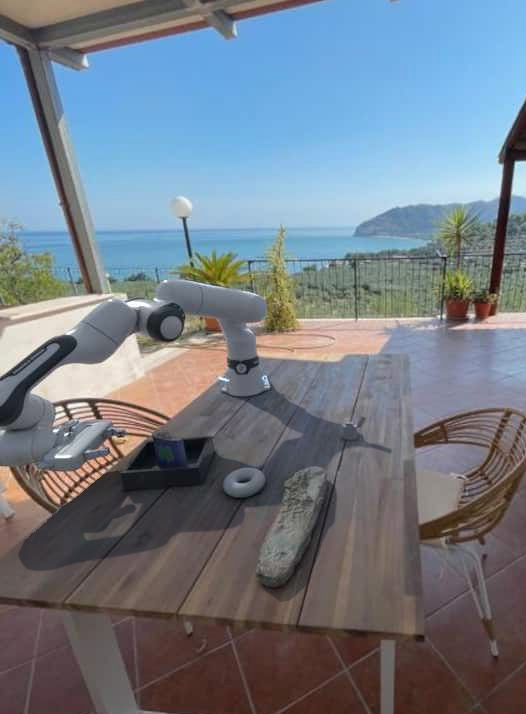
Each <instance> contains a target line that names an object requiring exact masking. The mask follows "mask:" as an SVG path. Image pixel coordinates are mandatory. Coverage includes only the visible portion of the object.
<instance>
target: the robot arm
mask: <svg viewBox="0 0 526 714" xmlns="http://www.w3.org/2000/svg"><path fill="white" fill-rule="evenodd" d="M267 314H268V303H267V301H266V299H265V298H264V297H263V296H261V295H259V294H256V293H253V292H249V291H245V290H239V289H234V288H228V287H223V286H217V285H211V284H207V283H201V282H198V281H193V280H187V279H174V278H173V279H169V278H168V279H165V280H162V281H160V283H158V285H157V287H156V290H155V296H154V297H153V298H152V300H150V299H147V298H144V297H132V298H128V299H126V300H122V299H120V298H119V299H118V298H109V299H106V300H104V301H103V302H101V303H100V304H99V305H97V306H95V307H94V308H93V309H92V310H91V311H89V313H87V314H86V315H85V316H84V317H83V318H82V319H81V320H80V321H79V322H78V323H77V324H76V325H75V326H74V327H72V328H71V329H69V330H67V331H66V332H64V333H62V334H57V335H55V336H53V337H51V338H49V339H48V340H46V341H45V342H43V343H42V344H41V345H39V346H37V348H36V349H34V350H33V351H32V352H31V353H29V354H28V355H27V356H26V357H24V358H23V359H21V360H20V361H19V362H18V363H17V364H15V365H13V367H12V368H11V369H9V370H8V371H6V372H5V373H3V374H1V376H0V467H1V468H2V467H3V468H4V467H5V468H6V467H25V466H29V465H32V464H33V465H34V464H35V468H36V469H38V470H47V471H49V472H57V473H58V472H59V473H61V472H64V473H66V472H75V471H78V470H80V469H81V468H82V467H83V466H84V465H85V463H87V461H93V460H96V459H98V458H101V457H103V458H104V457H108V456H109V455H110V453H111V449H110V446H102V445H104V444H105V443H106V442H107V440H109V438H113V437H116V438H117V439H121V438H124V437H126V435H127V430H126V429H125V428H117V427H115V426H114V422H113V421H112V420H110V419H87V420H81V421H80V420H79V419H78V418H77V419H76V418H75V419H70V420H68V421H66V422H64V423H62V424H59V425H55V426H54V423H55V420H56V416H57V411H56V407H55V404H54V403H52V401H51V400H49V399H46V398H45V397H42V396H40V395H38V394H36V393H32V391H33V390H34V389H35V388H36V387H37V386H38V385H39V384H41V383H42V382H43V381H44V380H46V378H48V377H49V376H51V374H52V373H53V372H55V371H56V370H57V369H59V368H61V367H64V366H66V365H71V364H82V365H97V364H101V363H104V362H106V361H107V360H109V359H110V358H111V357H112V356H113V355H114V354H115V353H116V352H117V351H118V349H119V348H121V346H122V345H123V344H124V343H125V342H126V340H127V339H128V338H129V337H130V336H132V335H134V334H136V333H137V334H139V335H140V336H143V337H145V338H148V339H151V340H153V341H155V342H158V343H165V344H166V343H173V342H175V341H177V340H178V339H179V338H180V337H181V336H182V334H183V332H184V330H185V324H186V323H185V320H186V316H191V317H197V318H198V317H200V318H207V319H213V320H216V322H218V325H219V327H220V330H221V331H222V334H223V336H224V341H225V347H226V354H227V357H226V364H227V368H226V370H225V371H224V377H220V376H218V379H219V380H221V381H224V383H225V385H224V386H223V387H222V388H221V392H222V393H226V394H228V395H230V396H234V397H251V396H256V395H259V394H261V393H263V392H265V391H266V392H267V391H269V390H271V385H270V381H269V378H268V376H267V375H265V372H264V369H263V368H262V366H261V365H260V356H259V354H258V349H257V338H256V335H255V333H254V332H253V331H252V330H251V329H250V328H249V326H248V324H255V323H261V322H262V321H263V320H265V318H266V316H267ZM7 457H8V458H7Z"/></svg>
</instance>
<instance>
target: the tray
mask: <svg viewBox="0 0 526 714" xmlns="http://www.w3.org/2000/svg"><path fill="white" fill-rule="evenodd" d="M213 438H214V437H213V436H212V435H209V436H208V435H207V436H194V437H183V443H184V449H185V454H186V459H187V463H188V466H183V467H169V468H163V467H160V466H158V463H157V458H156V453H155V447H154V442H153V439H149V440H144V441H143V442H142V444H141V445H140V446H139V448H138V449H137V451H136V452H135V453H134V454H133V455H132V457H131V459H130V460H129V461H128V462H127V463H126V465H125V466H124V468H122V470H121V472H120V473H119V474H120V477H121V482H122V486H123V489H124V491H136V490H147V489H149V490H150V489H160V488H171V487H172V488H173V487H185V486H187V487H188V486H198V485H202V484H203V482H204V479H205V476H206V474H207V471H208V468H209V467H210V464H211V461H212V459H213V456H214V455H215V451H216V450H215V445H214V439H213Z"/></svg>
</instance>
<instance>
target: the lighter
mask: <svg viewBox="0 0 526 714" xmlns="http://www.w3.org/2000/svg"><path fill="white" fill-rule="evenodd" d="M366 420H367V415H366V414H364V413H362V414H361V416H360V417H359V420H358V422H356V423H357V424H354V421H347V422H345V423H344V424H342V439H343V440H352V441H353V440H355V441H356V440H357V439H358V429H362V427H363V425H364V424H365V422H366Z"/></svg>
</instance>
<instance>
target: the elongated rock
mask: <svg viewBox="0 0 526 714" xmlns="http://www.w3.org/2000/svg"><path fill="white" fill-rule="evenodd" d="M327 477H328V474H327V473H326V470H324V468H323V467H320V466H315V465H311V466H308V467H306V468H304V469H299V470H298V471H297V472H294V474H293V476H292V477H289V478H288V479H286V480H285V481H284V482H283V489H284V493H283V496H282V499H281V503H280V508H279V511H278V514H277V515H276V516H275V519H274V520H273V521H272V523H271V526H270V528H269V530H267V532H266V536H265V537H264V542H263V543H262V544H261V546H260V549H259V555H258V558H257V560H256V566H257V567H256V569H255V576H256V577H257V578H260V579H259V580H260V582H261V584H263V585H265V586H266V587H268V588H269V587H271V588H278V587H279V586H283V585H284V584H286V583H287V581H288V580H289V579H290V578H291V577H292V576H293V574H294V572H295V568H296V567H297V565H298V564H299V563H300V562H301V561H302V558H303V555H304V554H305V552H306V549H307V548H308V547H309V545H310V544H311V540H312V534H313V533H312V532H313V530H314V528H315V527H316V526H317V523H318V518H319V515H320V512H321V510H322V509H321V508H322V507H323V504H324V503H325V500H326V494H327V485H328V480H327Z"/></svg>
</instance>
